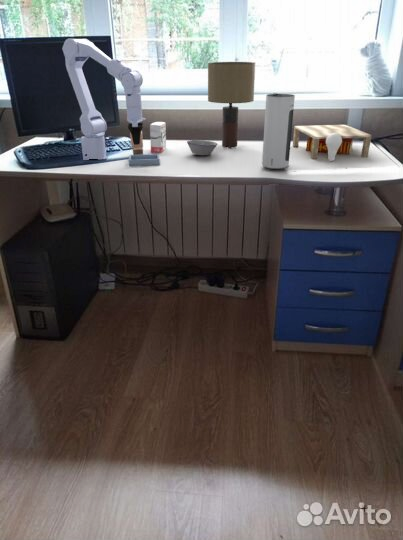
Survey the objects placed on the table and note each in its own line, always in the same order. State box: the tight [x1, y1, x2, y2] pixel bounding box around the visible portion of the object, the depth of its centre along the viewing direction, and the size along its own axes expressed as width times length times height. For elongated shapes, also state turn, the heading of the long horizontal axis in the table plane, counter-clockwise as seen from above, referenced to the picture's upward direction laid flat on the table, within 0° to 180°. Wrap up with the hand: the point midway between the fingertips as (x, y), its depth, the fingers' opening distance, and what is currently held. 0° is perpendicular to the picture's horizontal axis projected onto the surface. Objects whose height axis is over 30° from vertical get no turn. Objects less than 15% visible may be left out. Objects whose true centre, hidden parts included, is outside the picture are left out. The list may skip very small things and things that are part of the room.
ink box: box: [149, 121, 167, 154], centre depth 186 cm, size 9×5×12 cm, turn 168°
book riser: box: [292, 124, 372, 160], centre depth 184 cm, size 24×26×9 cm
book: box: [305, 136, 354, 155], centre depth 188 cm, size 18×13×5 cm
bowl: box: [186, 139, 219, 156], centre depth 180 cm, size 13×13×5 cm
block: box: [132, 146, 144, 155], centre depth 177 cm, size 4×4×4 cm
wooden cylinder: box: [129, 129, 144, 149], centre depth 166 cm, size 5×5×6 cm
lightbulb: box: [326, 133, 342, 162], centre depth 167 cm, size 6×6×11 cm
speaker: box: [261, 92, 296, 170], centre depth 159 cm, size 11×10×26 cm
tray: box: [128, 153, 161, 167], centre depth 170 cm, size 12×9×2 cm
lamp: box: [207, 61, 256, 148], centre depth 189 cm, size 20×20×35 cm
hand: (136, 143), depth 167 cm, fingers closed on wooden cylinder, 4 cm apart
